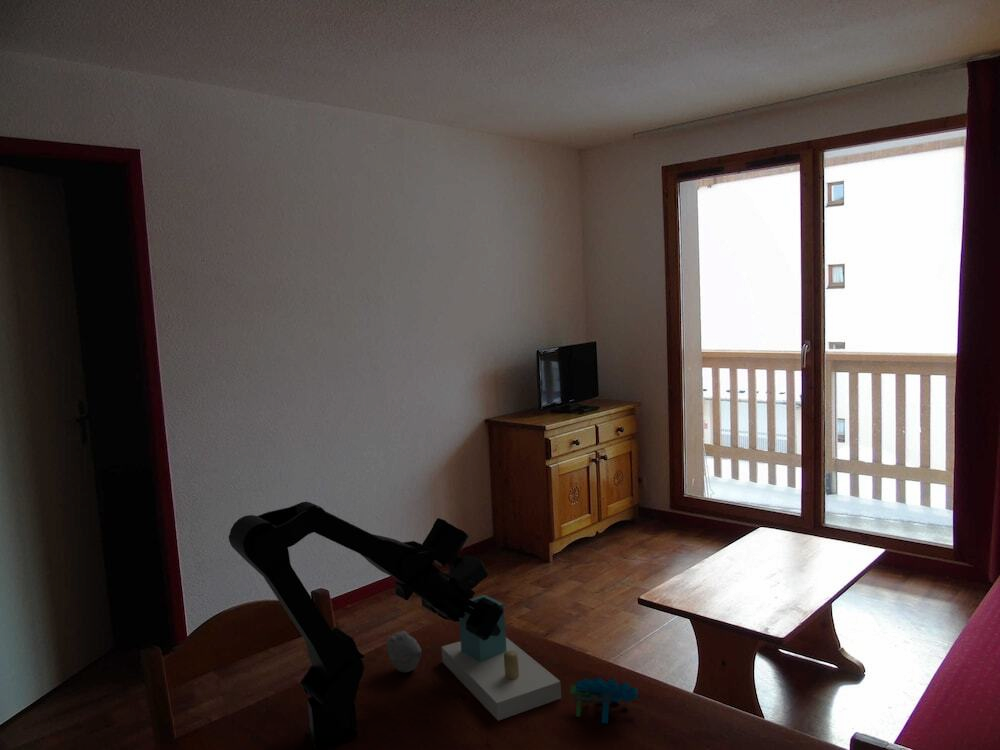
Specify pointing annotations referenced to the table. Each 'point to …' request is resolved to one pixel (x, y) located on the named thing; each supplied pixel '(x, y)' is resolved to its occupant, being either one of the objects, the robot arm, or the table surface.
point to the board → (503, 679)
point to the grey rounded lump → (403, 651)
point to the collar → (478, 646)
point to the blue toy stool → (601, 694)
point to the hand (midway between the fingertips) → (488, 627)
